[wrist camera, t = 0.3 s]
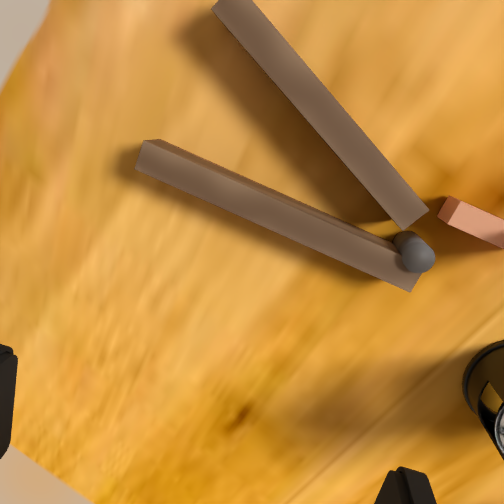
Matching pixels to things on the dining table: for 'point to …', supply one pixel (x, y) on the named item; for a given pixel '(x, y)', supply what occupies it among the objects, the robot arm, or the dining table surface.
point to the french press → (475, 380)
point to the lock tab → (473, 221)
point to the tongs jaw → (320, 109)
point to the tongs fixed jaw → (288, 215)
